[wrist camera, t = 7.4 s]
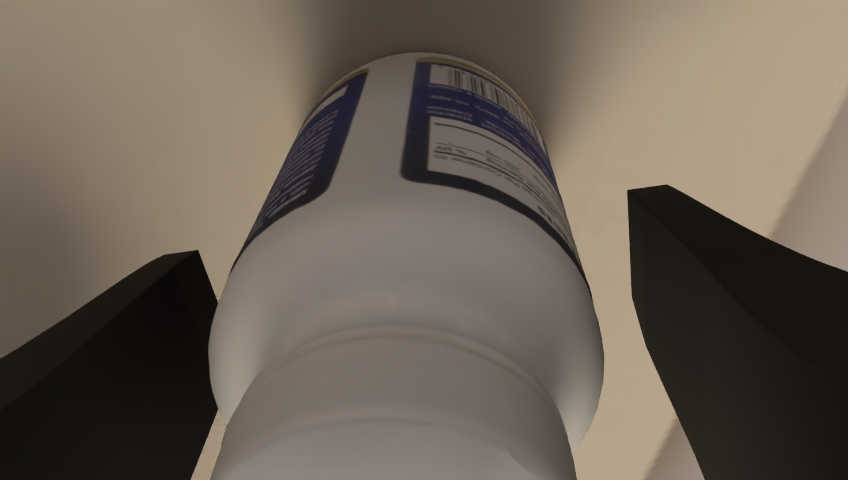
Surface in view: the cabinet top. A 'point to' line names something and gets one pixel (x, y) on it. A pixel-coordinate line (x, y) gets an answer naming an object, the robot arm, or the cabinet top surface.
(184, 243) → the cabinet top surface
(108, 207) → the cabinet top surface
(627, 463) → the cabinet top surface
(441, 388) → the pill bottle
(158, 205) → the cabinet top surface
